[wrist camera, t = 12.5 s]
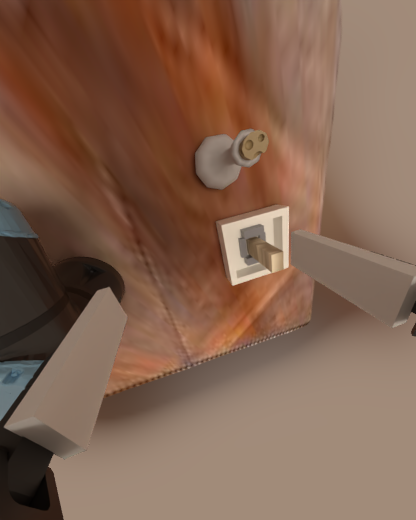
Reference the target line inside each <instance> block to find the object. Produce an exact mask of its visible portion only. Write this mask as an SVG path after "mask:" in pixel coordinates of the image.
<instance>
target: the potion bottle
mask: <svg viewBox="0 0 416 520" xmlns="http://www.w3.org/2000/svg"><path fill="white" fill-rule="evenodd" d="M268 143H269V140H268V137H267V134H266V133H265V132H263V131H261V130H257V131H254V130H253V129H247V130H242V131H240V133H239V134H238V136H237V137H236V138H235V140H233V139H231V138H230V137H229V136H228V135H226V134H221V135H216V136H210V137H206V138H205V139H204V141H203V142H202V144H201V145H200V147H199V148H198V150H197V151H196V153H195V163H196V174H197V175H198V177H199V178H200V179H201V180H202V182H203V183H204V184H205V185H206V187H209V188H215V189H221V190H222V189H224V188H225V187H227V186H228V185H230V184H231V183H233V182H234V181H235V180H236V179H237V178H238V175H239V172H240V169H241V166H243V167H250V166H252V165H253V164H255V163H256V162H258V161H259V158H260V155H261V153H264V152H265V151H266V150H267V146H268Z"/></svg>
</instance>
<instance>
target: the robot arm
mask: <svg viewBox="0 0 416 520" xmlns="http://www.w3.org/2000/svg"><path fill="white" fill-rule="evenodd" d="M38 238H39V237H38V235H37V234H36V233H34V232H33V230H32V228H31V227H30V225H29V224H28V222H27V221H26V219H25V218H24V216H23V214H22V213H21V211H20V210H19V209H18V208H17V207H16V206H15V205H13V204H12V203H10V202H8V201H6V200H3V199H0V520H64V519H63V515H62V510H61V506H60V501H59V497H58V492H57V487H56V483H55V478H54V473H53V471H52V470H51V468H49V467H48V465H49V463H50V461H51V458H52V456H53V454H55V455H57V456H59V457H61V458H63V459H67V458H69V457H71V456H74V455H77V454H79V453H81V452H84V451H86V450H87V448H88V445H89V442H90V438H91V435H92V432H93V429H94V425H95V422H96V419H97V416H98V412H99V409H100V406H101V402H102V399H103V396H104V393H105V390H106V386H107V383H108V380H109V377H110V373H111V370H112V367H113V364H114V361H115V357H116V354H117V351H118V348H119V344H120V341H121V338H122V335H123V331H124V328H125V325H126V322H127V318H128V317H127V315H126V313H125V312H124V310H123V309H122V307H121V305H120V302H121V300H122V298H123V295H124V282H123V280H122V278H121V276H120V275H119V273H118V272H117V271H116V270H115V269H114V268H113V267H111V266H110V265H108V264H106V263H105V262H102V261H100V260H97V259H93V258H87V257H75V258H69V259H66V260H63V261H61V262H59V263H58V264H56V265H55V266H52V264H51V262H50V261H49V259H48V257H47V255H46V253H45V252H44V250H43V248H42V246H41V244H40V242H39V240H38ZM291 265H292V266H294V267H296V268H297V269H299V270H300V271H302V272H304V273H305V274H307V275H308V276H310V277H312V278H313V279H315V280H317V281H318V282H320V283H321V284H323V285H324V286H326V287H328V288H329V289H331V290H332V291H334V292H336V293H337V294H339V295H340V296H342V297H344V298H345V299H347V300H348V301H350V302H352V303H353V304H355V305H356V306H358V307H359V308H361V309H363V310H364V311H366V312H367V313H369V314H371V315H372V316H374V317H375V318H377V319H379V320H380V321H382V322H383V323H385V324H387V325H388V326H390V327H391V328H393V327H395V326H398V325H400V324H403V323H405V322H407V319H408V317H409V315H410V313H411V312H413V313H415V314H416V265H413V264H410V263H407V262H404V261H401V260H397V259H394V258H391V257H388V256H384V255H382V254H378V253H375V252H372V251H367V250H364V249H361V248H358V247H355V246H352V245H348V244H345V243H342V242H339V241H335V240H332V239H329V238H326V237H323V236H320V235H317V234H314V233H310V232H307V231H304V230H301V229H300V230H297V231H294V232H291ZM411 334H412V336H416V323H415V325H414V327H413V329H412V331H411Z"/></svg>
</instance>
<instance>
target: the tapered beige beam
mask: <svg viewBox="0 0 416 520" xmlns="http://www.w3.org/2000/svg"><path fill="white" fill-rule="evenodd" d="M246 243H247V252H248V254H249V255H251V256H252V257H253V258H254V259H256V260H257V261H258V262H259V263H260V264H262V265H263V266H264V267H265V268H267V269H268V270H269V271H270V272H271V273H274V272H277V271H280V270H283V269H284V263H283V251H282V250H280V249H278V248H276V247H275V246H273V245H271V244H269V243H267V242H265V241H264V240H262V239H260V238H258V237H256V236H255V237H252V238H249V239H246Z"/></svg>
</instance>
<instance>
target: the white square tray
mask: <svg viewBox="0 0 416 520" xmlns="http://www.w3.org/2000/svg"><path fill="white" fill-rule="evenodd" d="M216 226H217V231H218V236H219V241H220V246H221V251H222V256H223V261H224V266H225V272H226V277H227V278H228V280H229V281H230V283H231V284H232V286H233V285H236V284H239V283H242V282H245V281H248V280H251V279H254V278H257V277H260V276H263V275H267V274H270V273H271V272H270V271H269V270H268V269H267V268H265V267H264V266H263V265H262V264H260V263H259V262H258V261H257V260H256V259H254V258H253V257H252V256H251V255H249V254H248V252H247V243H246V239H249V238H252V237H255V236H256V237H258V238H260V239H262V240H264V241H265V242H267V243H269V244H271V245H273V246H275V247H276V248H278V249H280V250H282V251H283V263H284V269H285V268H288V249H289V206H283V205H273V206H269V207H266V208H262V209H259V210H255V211H251V212H248V213H244V214H241V215H237V216H233V217H230V218H226V219H223V220H219V221H216Z"/></svg>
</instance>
